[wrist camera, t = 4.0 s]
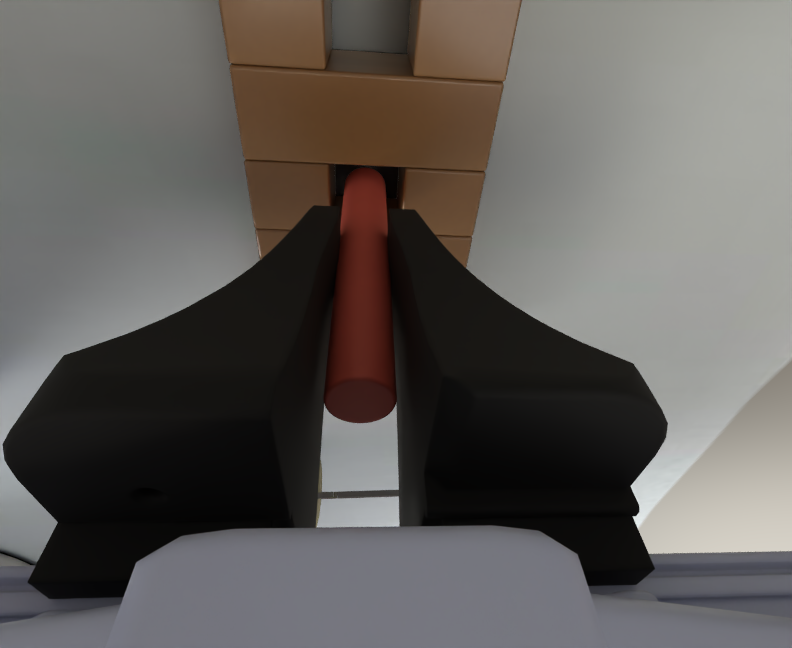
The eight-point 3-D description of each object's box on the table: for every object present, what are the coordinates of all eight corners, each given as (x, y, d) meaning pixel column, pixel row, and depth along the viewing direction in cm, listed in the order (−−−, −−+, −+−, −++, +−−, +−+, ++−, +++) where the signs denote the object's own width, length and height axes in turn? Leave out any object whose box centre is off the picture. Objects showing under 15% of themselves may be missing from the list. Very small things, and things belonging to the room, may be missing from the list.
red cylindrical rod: (373, 211, 14) (376, 431, 8) (338, 194, 13) (312, 413, 7) (392, 177, 13) (410, 391, 7) (355, 159, 13) (341, 369, 7)
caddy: (437, 337, 19) (443, 379, 18) (286, 334, 19) (277, 377, 17) (525, -164, 10) (560, -183, 8) (218, -198, 9) (181, -225, 7)
